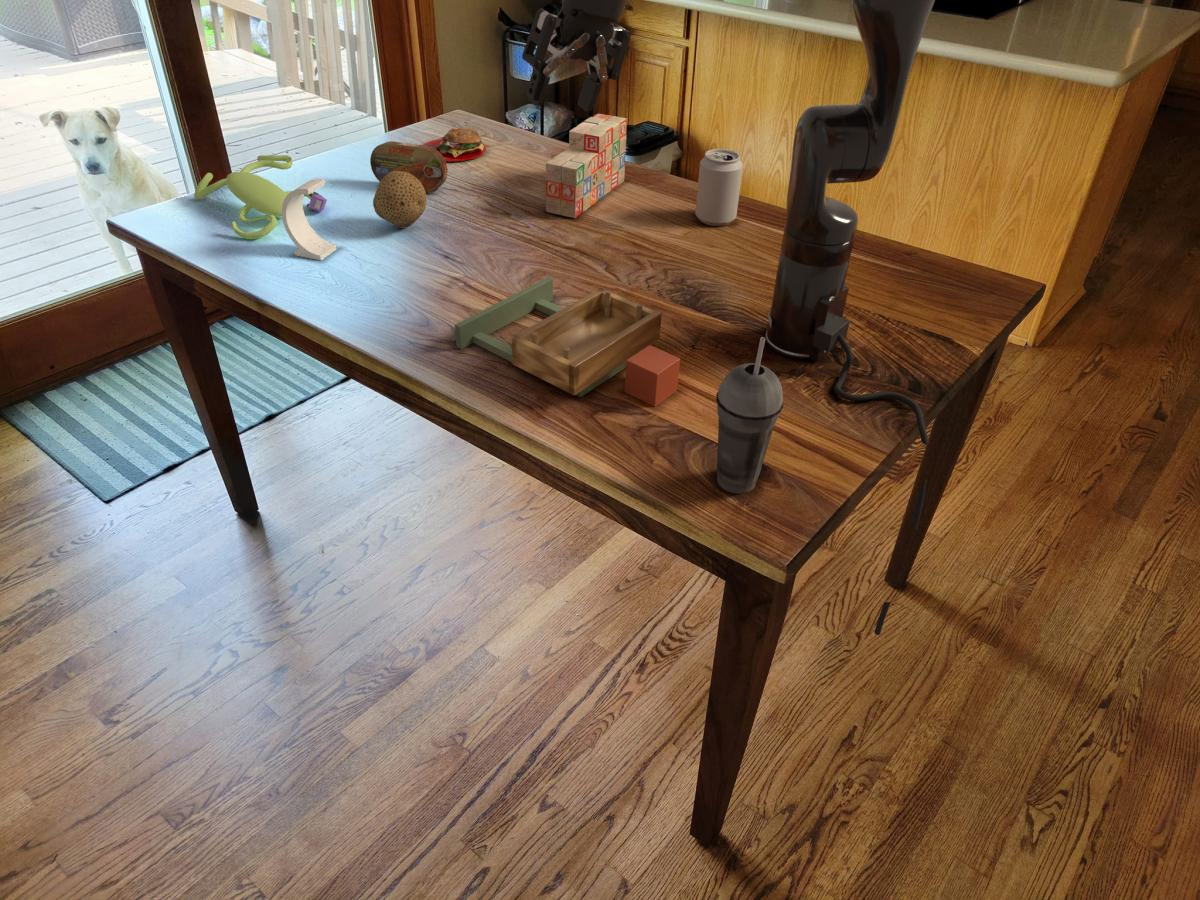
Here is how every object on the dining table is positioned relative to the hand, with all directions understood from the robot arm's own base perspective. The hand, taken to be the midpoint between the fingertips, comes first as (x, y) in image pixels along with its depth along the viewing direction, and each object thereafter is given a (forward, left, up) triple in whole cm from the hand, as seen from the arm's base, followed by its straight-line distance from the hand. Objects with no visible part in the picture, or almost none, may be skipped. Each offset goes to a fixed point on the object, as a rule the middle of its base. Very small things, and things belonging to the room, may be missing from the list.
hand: (559, 106), depth 109 cm
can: (+4, -47, -31) cm, 56 cm away
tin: (+55, -19, -31) cm, 66 cm away
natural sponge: (+42, -6, -31) cm, 52 cm away
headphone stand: (+46, +10, -31) cm, 56 cm away
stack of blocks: (+28, -39, -31) cm, 57 cm away
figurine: (+68, +5, -31) cm, 75 cm away
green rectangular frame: (-4, +5, -31) cm, 32 cm away
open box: (-10, +5, -30) cm, 32 cm away
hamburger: (+64, -38, -31) cm, 80 cm away
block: (-21, +5, -31) cm, 38 cm away
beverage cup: (-39, +13, -31) cm, 52 cm away
